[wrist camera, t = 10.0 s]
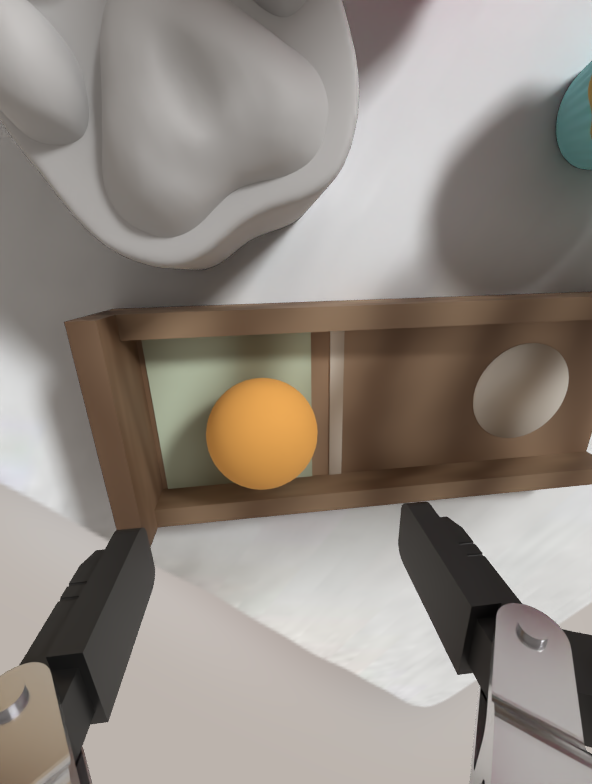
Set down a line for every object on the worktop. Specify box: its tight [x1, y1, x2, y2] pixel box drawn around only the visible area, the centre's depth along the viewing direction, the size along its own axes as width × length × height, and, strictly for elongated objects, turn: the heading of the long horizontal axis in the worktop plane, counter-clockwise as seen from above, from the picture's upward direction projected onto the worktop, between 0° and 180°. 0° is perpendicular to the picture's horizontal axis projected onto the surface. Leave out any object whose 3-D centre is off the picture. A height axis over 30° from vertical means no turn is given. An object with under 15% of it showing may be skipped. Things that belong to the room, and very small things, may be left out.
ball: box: [206, 378, 318, 490], centre depth 17 cm, size 6×6×6 cm
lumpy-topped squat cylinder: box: [0, 0, 359, 270], centre depth 12 cm, size 10×13×9 cm
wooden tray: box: [64, 292, 592, 547], centre depth 19 cm, size 30×12×5 cm, turn 92°
